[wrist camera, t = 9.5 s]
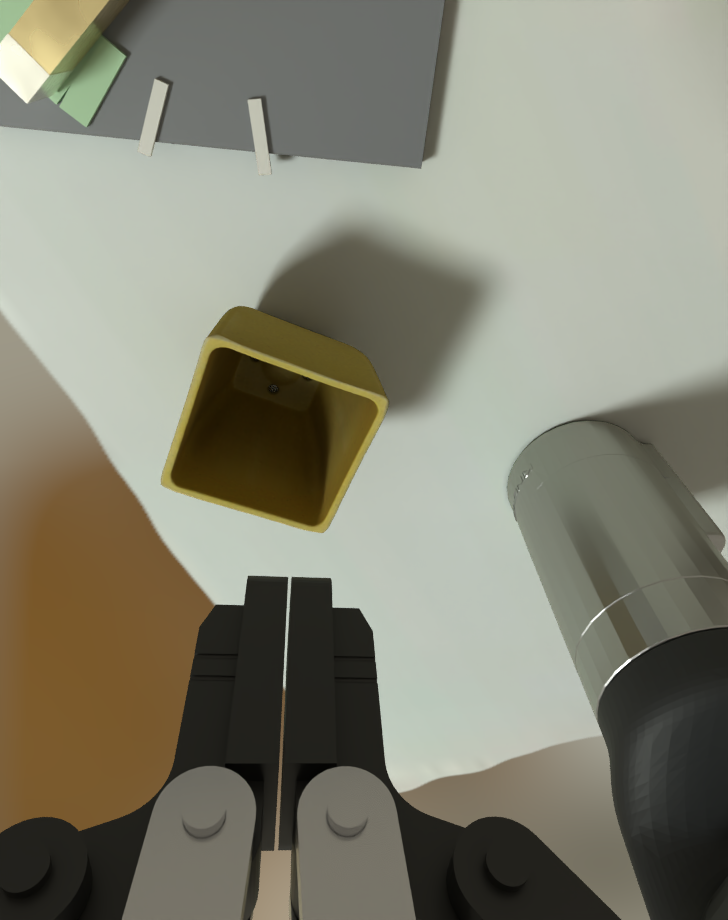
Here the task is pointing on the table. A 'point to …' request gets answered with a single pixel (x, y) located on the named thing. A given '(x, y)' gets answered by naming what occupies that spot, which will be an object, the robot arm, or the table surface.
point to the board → (251, 78)
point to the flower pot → (275, 421)
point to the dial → (52, 43)
